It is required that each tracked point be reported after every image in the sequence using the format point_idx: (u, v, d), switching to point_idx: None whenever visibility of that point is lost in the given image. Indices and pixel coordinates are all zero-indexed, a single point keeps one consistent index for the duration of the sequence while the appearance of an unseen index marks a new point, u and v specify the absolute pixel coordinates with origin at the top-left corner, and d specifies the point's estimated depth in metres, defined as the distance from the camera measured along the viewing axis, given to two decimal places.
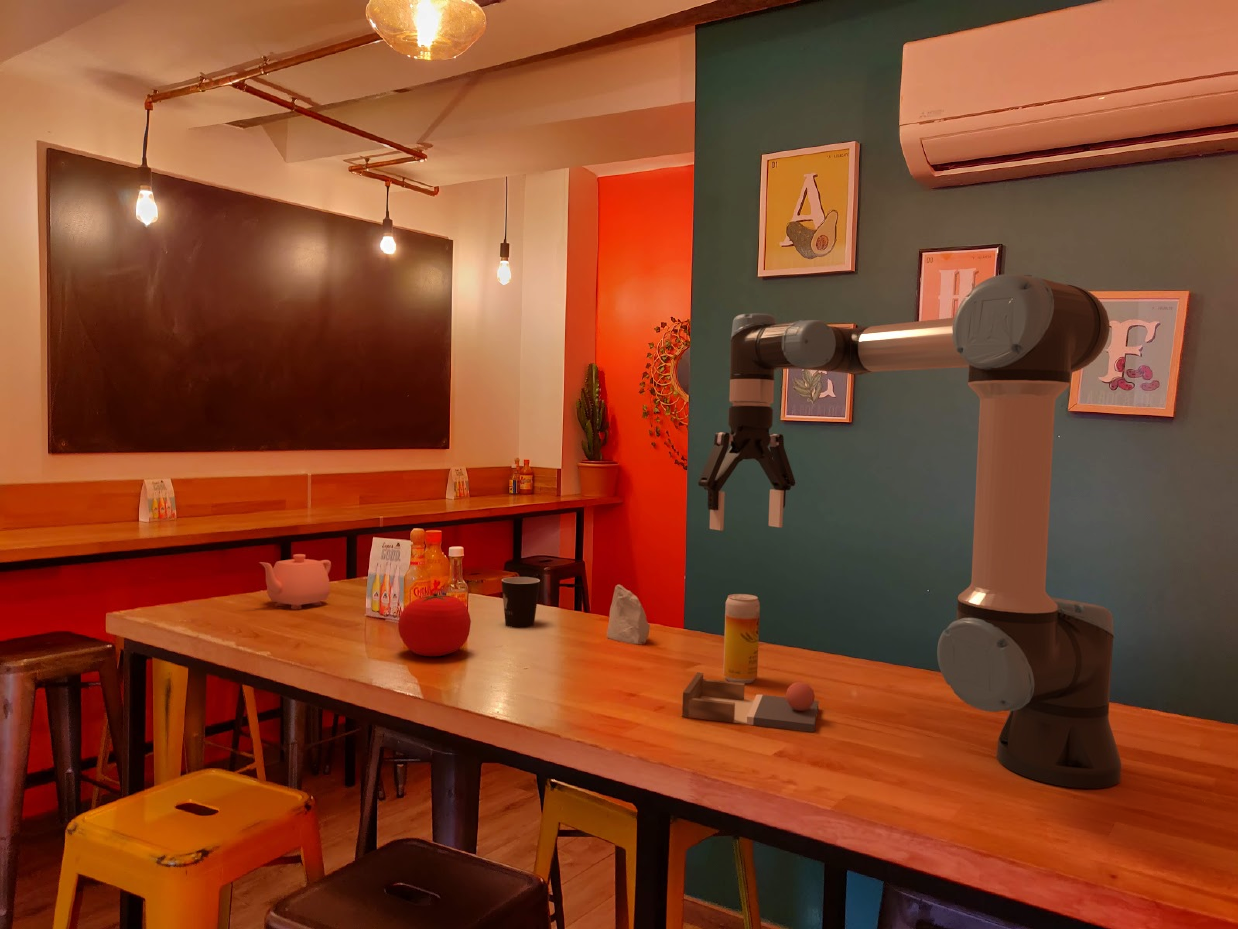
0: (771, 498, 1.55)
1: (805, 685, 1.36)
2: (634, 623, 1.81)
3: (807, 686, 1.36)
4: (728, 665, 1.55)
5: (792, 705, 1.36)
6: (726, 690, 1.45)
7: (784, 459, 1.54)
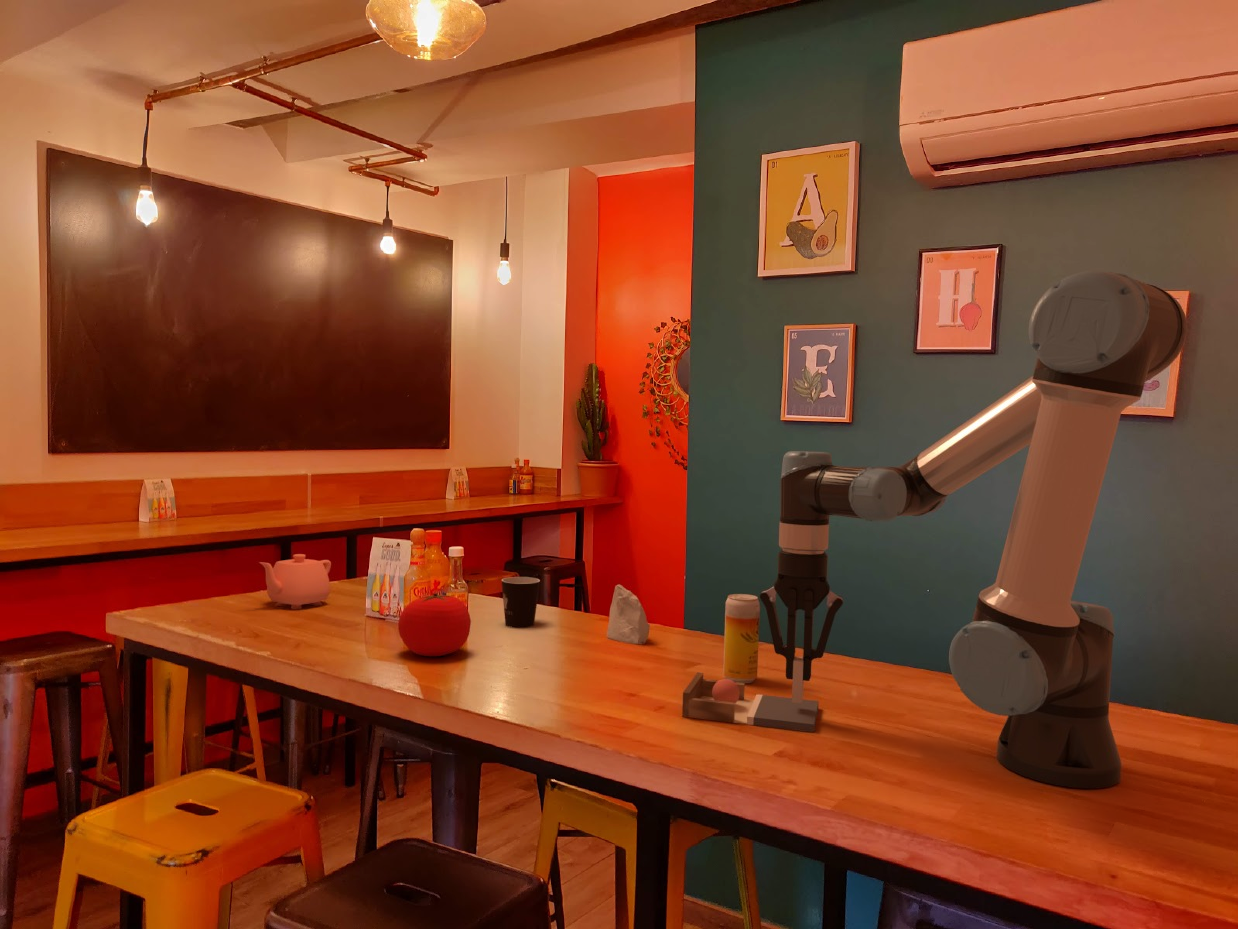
0: None
1: (738, 690, 1.40)
2: (634, 623, 1.81)
3: (738, 692, 1.40)
4: (728, 665, 1.55)
5: (715, 694, 1.40)
6: None
7: (826, 625, 1.34)
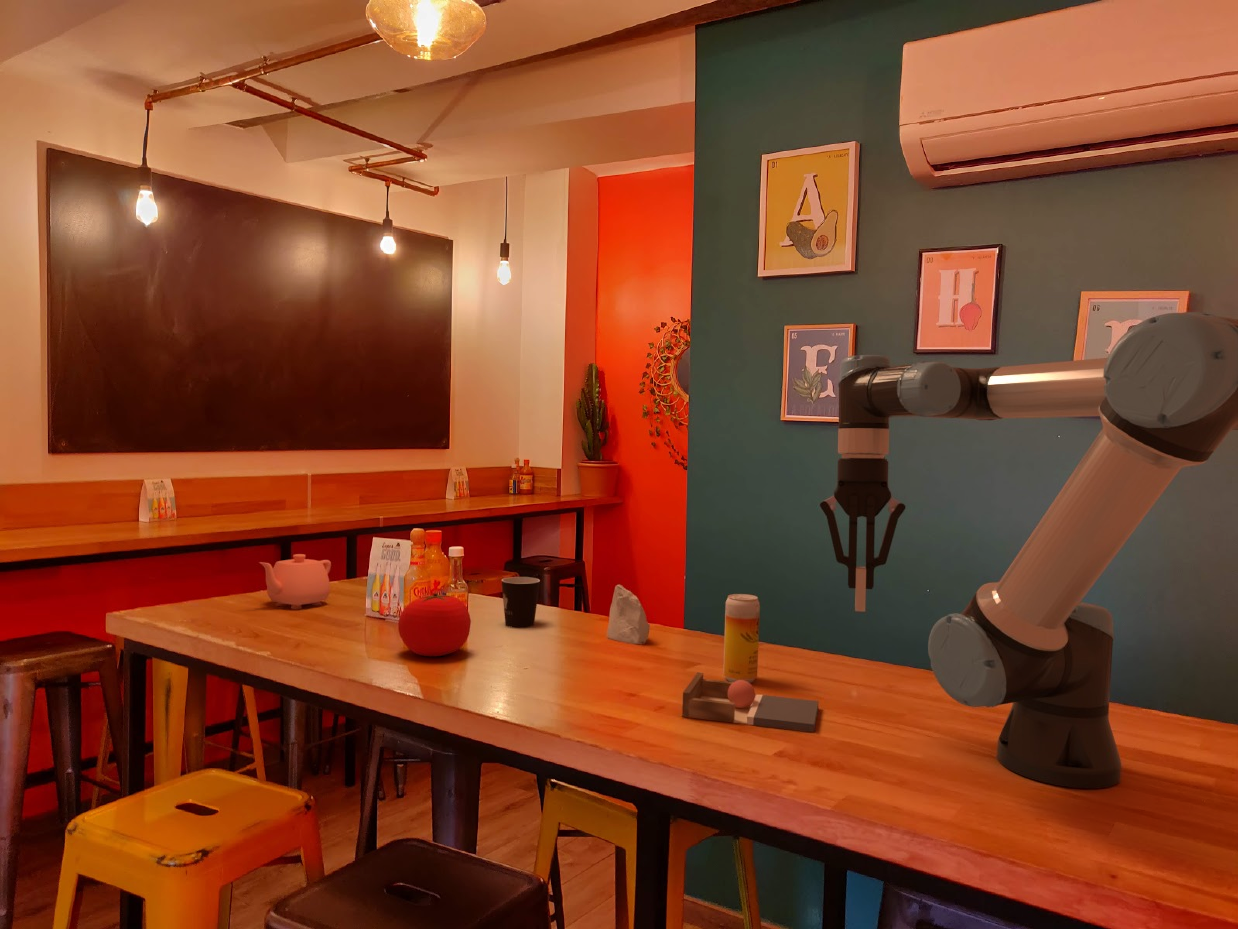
0: None
1: None
2: (634, 623, 1.81)
3: (748, 706, 1.40)
4: (728, 665, 1.55)
5: (737, 688, 1.39)
6: (726, 690, 1.45)
7: (889, 530, 1.32)
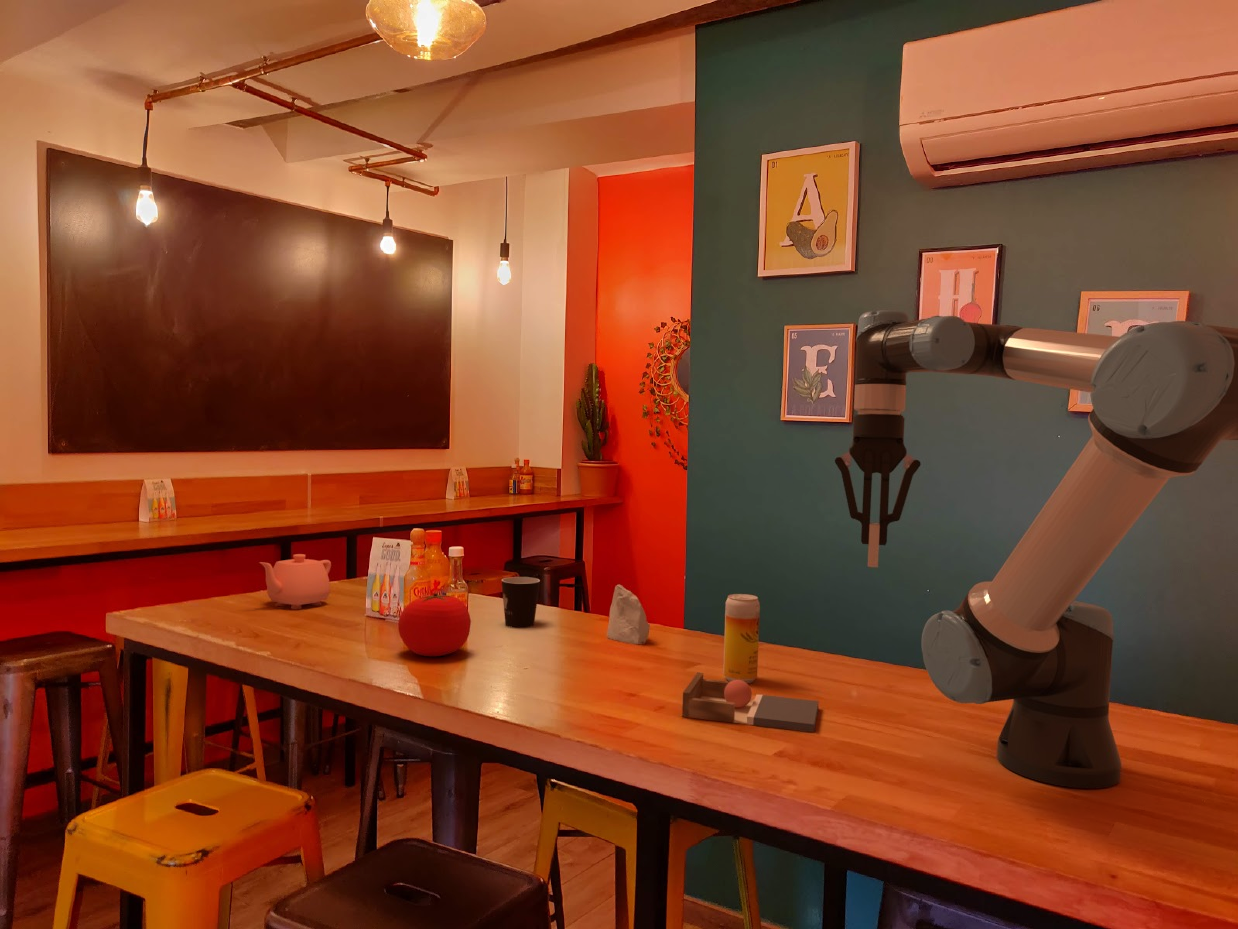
0: None
1: None
2: (634, 623, 1.81)
3: (747, 703, 1.40)
4: (728, 665, 1.55)
5: (731, 688, 1.39)
6: None
7: (903, 487, 1.33)
